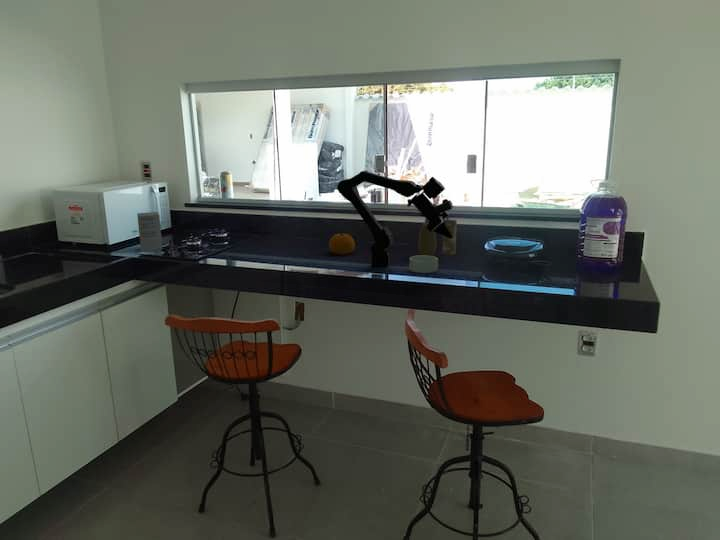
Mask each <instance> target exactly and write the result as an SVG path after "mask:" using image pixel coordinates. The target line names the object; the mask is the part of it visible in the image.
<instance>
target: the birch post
mask: <svg viewBox="0 0 720 540" xmlns="http://www.w3.org/2000/svg"><path fill="white" fill-rule="evenodd" d="M457 222H458V220H457V219H453V218H449V219H445V225H446V227H447V229H448V230H449V232H450V233H451V235H452V236H453V238H452V239H450V238H448V237H445V236H443V235H442V251H441V252H442V254H443V255H451V256H452V255H455V254H456V248H457V247H456V246H457V245H456V244H457V226H458V225H457V224H458V223H457Z"/></svg>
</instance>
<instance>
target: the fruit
mask: <svg viewBox="0 0 720 540" xmlns="http://www.w3.org/2000/svg"><path fill="white" fill-rule="evenodd" d="M343 232H344V231H341V233H336V234H333V236H331V238H330V239H329V242H328V247H329V250H330V252H332V254H335V255H340V256H341V255H349V254H351V253H353V251H354V250H355V247H356V243H355V240H354V238H353V237H352V236H351V235H350V234H348V233H343Z"/></svg>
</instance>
